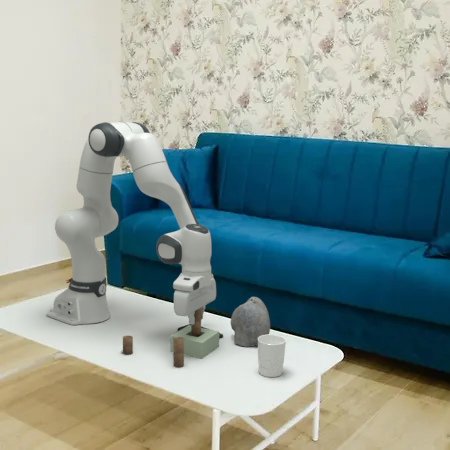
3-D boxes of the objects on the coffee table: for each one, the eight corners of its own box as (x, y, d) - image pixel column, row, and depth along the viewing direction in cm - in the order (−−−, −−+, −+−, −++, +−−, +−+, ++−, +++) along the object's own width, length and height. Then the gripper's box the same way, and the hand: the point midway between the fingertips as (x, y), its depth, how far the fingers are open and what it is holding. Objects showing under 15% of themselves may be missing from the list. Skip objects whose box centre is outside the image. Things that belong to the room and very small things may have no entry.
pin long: (189, 339, 192) (189, 302, 190) (194, 336, 195) (194, 299, 193) (197, 341, 191) (198, 303, 189) (202, 338, 194) (203, 301, 192)
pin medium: (171, 366, 181) (171, 339, 179) (176, 362, 184) (176, 336, 182) (181, 367, 180) (180, 341, 178) (185, 364, 182) (185, 337, 181)
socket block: (170, 351, 191) (170, 335, 191) (188, 339, 201) (188, 325, 200) (201, 358, 187) (202, 342, 186) (219, 346, 196) (219, 331, 195)
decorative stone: (220, 341, 201) (221, 296, 198) (238, 331, 209) (240, 288, 206) (260, 352, 192) (262, 305, 190) (277, 342, 201) (279, 297, 198)
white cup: (289, 372, 179) (291, 339, 177) (273, 381, 173) (274, 346, 171) (268, 364, 184) (269, 332, 182) (250, 372, 178) (252, 339, 176)
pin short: (120, 353, 189) (120, 337, 188) (126, 350, 192) (126, 334, 191) (128, 355, 188) (128, 339, 187) (134, 352, 190) (134, 336, 189)
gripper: (203, 269, 200) (203, 310, 203) (169, 284, 182) (169, 329, 185) (221, 271, 197) (220, 313, 200) (188, 287, 179) (188, 333, 182)
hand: (195, 321), depth 192 cm, fingers closed on pin long, 3 cm apart
